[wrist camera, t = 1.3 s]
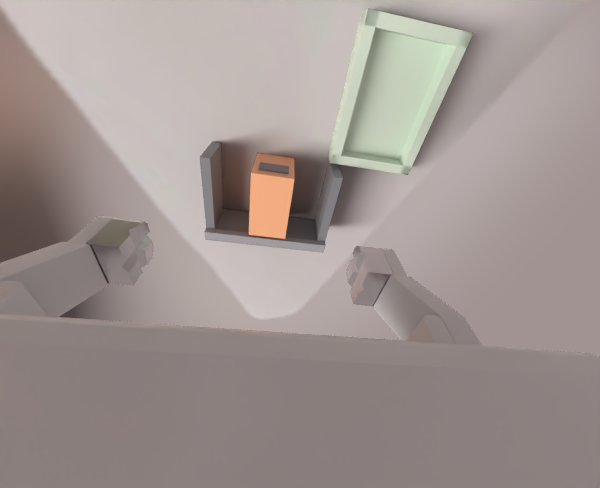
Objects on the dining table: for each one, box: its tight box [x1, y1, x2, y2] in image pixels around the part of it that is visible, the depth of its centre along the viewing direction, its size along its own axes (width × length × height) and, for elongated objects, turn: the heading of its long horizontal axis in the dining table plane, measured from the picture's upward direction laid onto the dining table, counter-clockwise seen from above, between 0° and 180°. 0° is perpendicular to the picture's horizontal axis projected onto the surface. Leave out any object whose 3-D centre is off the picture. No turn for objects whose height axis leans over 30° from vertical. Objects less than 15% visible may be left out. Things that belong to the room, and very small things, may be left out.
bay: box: [200, 142, 343, 253], centre depth 31 cm, size 10×15×6 cm
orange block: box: [249, 153, 295, 239], centre depth 30 cm, size 8×4×6 cm, turn 171°
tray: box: [328, 9, 473, 175], centre depth 26 cm, size 13×10×2 cm
